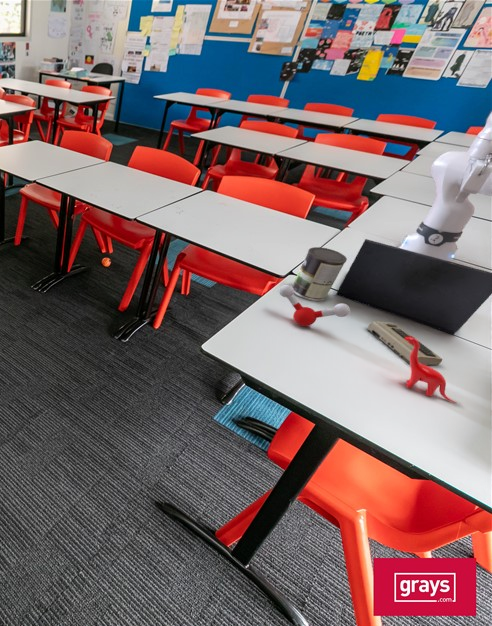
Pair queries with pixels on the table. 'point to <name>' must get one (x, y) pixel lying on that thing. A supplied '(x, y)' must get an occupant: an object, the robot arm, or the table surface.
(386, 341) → the computer
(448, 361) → the table surface
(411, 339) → the dinosaur
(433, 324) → the laptop
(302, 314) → the molecular model
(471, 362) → the table surface
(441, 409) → the table surface
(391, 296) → the laptop screen
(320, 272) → the coffee can
